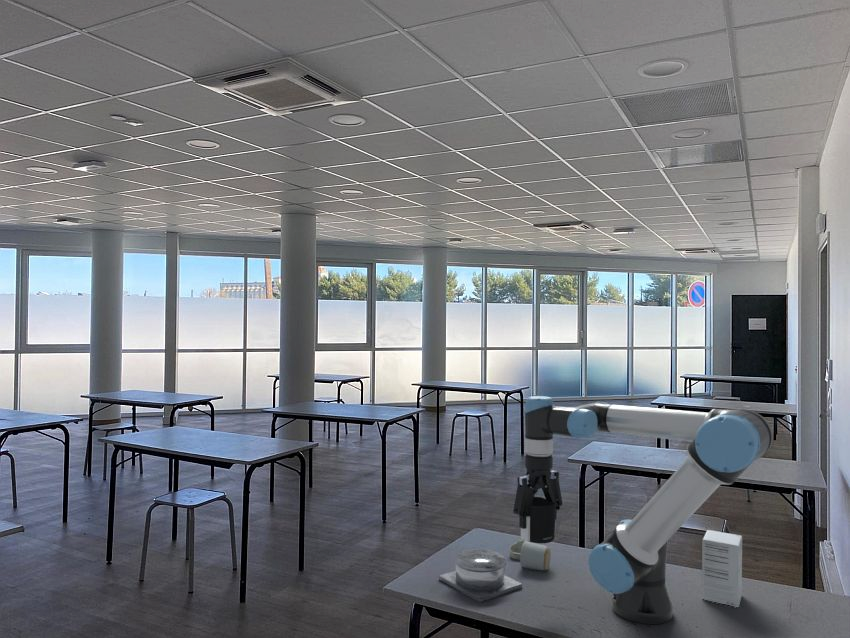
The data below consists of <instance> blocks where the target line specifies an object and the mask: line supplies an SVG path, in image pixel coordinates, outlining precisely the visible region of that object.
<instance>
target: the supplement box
mask: <svg viewBox="0 0 850 638" xmlns="http://www.w3.org/2000/svg"><path fill="white" fill-rule="evenodd" d="M701 545H702V546H701V547H702V548H701V549H702V551H701V552H702V553H701V554H702V555H701V556H702V557H701V558H702V559H701V561H702V563H701V564H702V565H701V568H702V569H701V570H702V571H701V574H702V575H701V580H702V581H701V600H702V599H705V600H709V601H714V602H718V603H723V604H727V605H731V606H736V607H739V608H740V604H741V601H742V596H743V583H742V582H743V580H742V579H743V535H740V534H734V533H727V532H724V531H723V532H722V531H717V530H712V529H711V530H709V529H706V531H705V533H704V536H703V538H702V544H701ZM705 600H704V601H705ZM709 601H708V602H709ZM714 602H713V603H714ZM718 603H717V604H718ZM727 605H726V606H727ZM731 606H730V607H731ZM736 607H735V608H736Z"/></svg>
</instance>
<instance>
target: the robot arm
mask: <svg viewBox="0 0 850 638" xmlns="http://www.w3.org/2000/svg"><path fill="white" fill-rule="evenodd" d="M524 405H525V407H524V408H525V409H524V428H525V429H524V432H525V433H524V452H525V454H524V467H525V469H526V473H525V475H524V476H520V475H519V476H517V479H516V480H517V488H516V494H515V500H514V505H513V510H512V512H513V514H515V515H516V516H519V520H518V521H519V522H518V523H519V524H518V525H519V526H518V527H519V528H520V539H521V540H525V541H527V542H529V541H530V516H528V513H529V510H530V507H531V504H532V501H533V498H534V497H535V496H536V494H537V493H538V491H539V490H540V489H541V490H542V493H543V495H544V498H545V499H546V500H547V501H549V502H551V503H554V502H556V517H555V530H556V521H557V517H558V516H557V512H558V511H559V510H561V506H563V499H562V492H561V487H560V480H559V477H560V472H559V471H557V470H553V467H554V466H553V465H554V459H553V458H554V456H553V455H552V454H553V453H554V435H557V436H565V437H571V438H576V439H591V438H593V436H594V435H595V434H596V432H604V433H614V434H615V433H616V434H622V435H623V434H624V435H630V436H631V435H632V436H640V437H649V438H654V439H656V438H657V439H662V440H663V439H664V440H671V441H672V440H673V441H682V442H689V444H688V446H687V447H686V451H687V458H686V459H685V460H684V461H683V462H682V464H680V466H679V467H678V468H677V469H676V470H675V472H673V474H672V475H670V477H669V478H668V479H667V480H666V482H665V483H664V484H663V485H662V486H661V487H660V488H659V489H658V490H657V492H656V493H655V494H654V495H653V496H652V497H651V498H650V499H649V501H647V502H646V504H645V505H644V506H643V507H642V508H641V509H640V510H639V512H638V513H637V514H636V515H635V517H632V518H633V519H622V520H621V521H619V523H618V525H617V526H616V527H615V528H614V529H613V531H612V532H611V533H610V534H609V535H608V536H607V537H606V538H605V539H604V540H603V541H602V542H601V543H599V544H597V545H595V546H594V547H593V548H592V550H591V551H590V553H589V555H588V560H587V561H588V565H589V572H590V574H591V576H592V578H593V580H594V581H595V582H596V584H597V585H598V587H599V586H600V588H602V589H603V590H604V591H606V592H608V593H612V597H611V608H612V611H613V612H614V613H616V615H618V616H620V617H621V618H623V619H625V620H628V621H631V622H635V623H640V624H643V625H647V624H648V625H659V624H664V623H668V622H669V621H671V619H672V618H673V612H674V611H673V610H674V609H673V605H672V602H671V601H672V600H671V597H670V594H669V592H668V587H667V585H666V580H667V579H666V578H667V577H666V576H667V575H666V574H667V542H668V541H669V539H671V538H672V536H674V535H675V534H676V532H677V531H678V530H679V529H680V528H681V527H682V526H683V525H684V524H685V523H686V522H687V521H688V520H689V519H690V517H692V516H693V515H694V513H696V511H698V509H699V508H700V507H701V506H702V505H703V504H704V503H705V502H706V501H707V500H708V499H709V498H710V497H711V495H712V494H713V493H715V492H716V490H717V489H718V488H719V487H720V486H721V485H725V486H726V485H727V486H729V485H733V484H734V483H735V481H737V479H738V478H739V477H740V476H741V475H742V474H743V473H744V472H745V471H746V470H747V469H748V468H749V467H750V466H751V465H752V464H753V463H754V462H755V461H757V460H759V459H761V458H762V457H763V456H765V455H766V454H767V453H768V452H769V450H770V449H771V447H772V445H773V440H774V439H773V438H774V437H773V436H774V433H773V430H772V427H771V426H770V424H769V422H768V420H767V419H765V418H764V417H763V415H761V414H760V413H758V412H755V411H754V410H750V409H745V408H744V409H742V408H741V409H739V408H738V409H717V408H713V409H711V410H710V411H709V412H704V411H693V410H681V409H669V408H655V407H647V406H634V405H622V404H621V405H620V404H609V403H607V402H604V401H595V402H591V403H586V404H582V405H581V404H580V405H576V406H572V407H571V406H570V407H569V406H558V405H554V399H553V398H552V397H549V396H546V395H545V396H544V395H535V396H534V395H532V396H529V397H528V396H527V398H526V399H525V404H524ZM523 510H524V511H523Z"/></svg>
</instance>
